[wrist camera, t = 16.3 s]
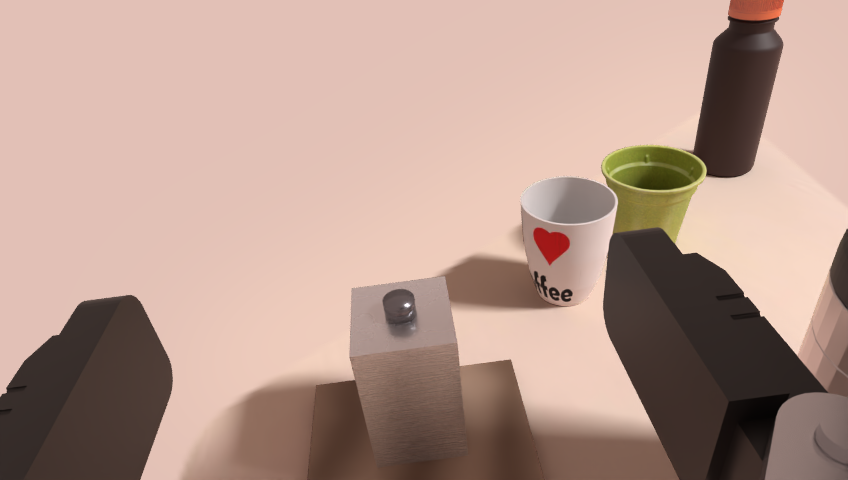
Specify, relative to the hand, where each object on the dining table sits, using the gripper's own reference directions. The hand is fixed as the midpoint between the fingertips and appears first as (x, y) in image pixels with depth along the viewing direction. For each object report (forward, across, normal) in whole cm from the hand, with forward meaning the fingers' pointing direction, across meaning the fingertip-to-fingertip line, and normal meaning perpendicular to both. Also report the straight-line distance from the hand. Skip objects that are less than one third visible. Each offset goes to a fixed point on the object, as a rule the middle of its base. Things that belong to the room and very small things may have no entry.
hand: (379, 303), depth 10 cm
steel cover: (+20, +1, +29) cm, 35 cm away
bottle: (+53, -39, +30) cm, 72 cm away
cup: (+34, -14, +30) cm, 48 cm away
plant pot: (+40, -24, +30) cm, 56 cm away
